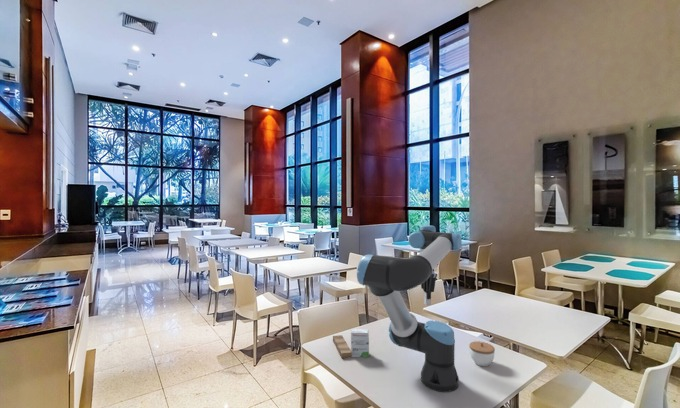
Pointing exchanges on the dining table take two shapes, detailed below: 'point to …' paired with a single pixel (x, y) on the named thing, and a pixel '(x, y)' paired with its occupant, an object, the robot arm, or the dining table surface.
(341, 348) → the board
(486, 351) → the lidded jar
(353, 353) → the ink box
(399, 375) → the dining table surface
